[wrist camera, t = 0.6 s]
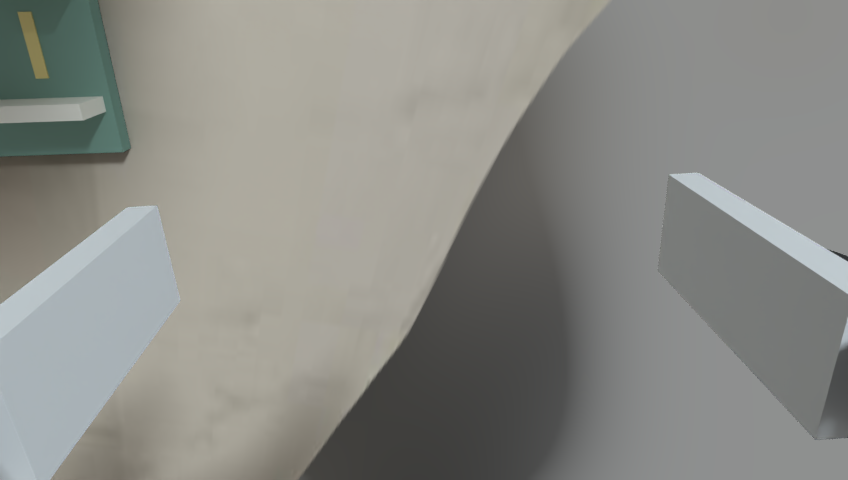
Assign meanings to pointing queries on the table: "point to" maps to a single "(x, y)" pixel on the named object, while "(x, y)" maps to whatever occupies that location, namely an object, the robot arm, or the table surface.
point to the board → (57, 80)
